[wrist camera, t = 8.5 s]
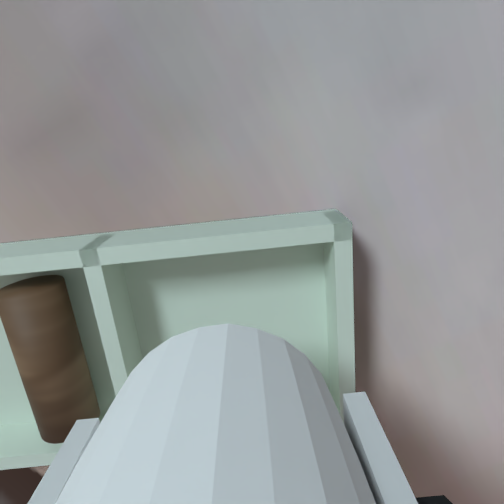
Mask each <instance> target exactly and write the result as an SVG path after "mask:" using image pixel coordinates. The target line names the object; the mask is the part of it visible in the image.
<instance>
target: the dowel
mask: <svg viewBox="0 0 504 504" xmlns="http://www.w3.org/2000/svg"><path fill="white" fill-rule="evenodd" d="M0 318H1V321H2V324H3V327H4V330H5V333H6V335H7V338H8V341H9V344H10V347H11V350H12V353H13V356H14V359H15V362H16V365H17V368H18V371H19V374H20V377H21V380H22V383H23V386H24V389H25V392H26V394H27V397H28V400H29V403H30V406H31V409H32V412H33V415H34V418H35V421H36V424H37V427H38V430H39V433H40V436H41V438H42V440H43V441H45V442H47V443H51V444H58V443H64V441H65V439H66V438H67V436H68V434H69V432H70V431H71V429H72V427H73V426H74V424H75V422H76V421H77V420H81V419H91V418H99V417H100V408H99V404H98V401H97V397H96V393H95V390H94V386H93V382H92V379H91V375H90V371H89V368H88V364H87V360H86V357H85V353H84V349H83V346H82V342H81V338H80V335H79V331H78V327H77V324H76V320H75V316H74V312H73V309H72V305H71V301H70V298H69V294H68V290H67V287H66V283H65V279H64V277H63V276H60V275H43V276H37V277H32V278H28V279H24V280H20V281H17V282H15V283H12V284H9V285H7V286H5V287H3V288H1V289H0Z"/></svg>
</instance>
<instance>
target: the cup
mask: <svg viewBox="0 0 504 504" xmlns="http://www.w3.org/2000/svg"><path fill="white" fill-rule="evenodd" d="M55 504H376V502H375V500H374V497H373V494H372V492H371V489H370V487H369V484H368V482H367V479H366V476H365V474H364V471H363V469H362V466H361V464H360V461H359V459H358V456H357V454H356V451H355V449H354V447H353V444H352V442H351V440H350V437H349V435H348V433H347V430H346V428H345V426H344V423H343V421H342V418H341V416H340V414H339V411H338V409H337V407H336V404H335V402H334V400H333V398H332V395H331V393H330V391H329V389H328V387H327V385H326V383H325V380H324V378H323V376H322V374H321V373H320V372H319V370H318V369H317V368H316V367H315V366H314V365H313V363H312V362H311V361H310V360H309V359H308V357H307V356H306V355H305V354H304V353H302V352H301V351H299V350H298V349H297V348H295V347H294V346H293V345H291V344H290V343H289V342H287V341H286V340H285V339H283V338H280V337H278V336H275V335H273V334H270V333H267V332H265V331H262V330H260V329H257V328H252V327H246V326H240V325H235V324H229V323H227V324H220V325H212V326H205V327H198V328H196V329H193V330H190V331H187V332H184V333H181V334H178V335H176V336H173V337H171V338H169V339H168V340H166V341H165V342H163V343H162V344H160V345H159V346H158V347H156V348H155V349H153V350H152V351H150V352H149V353H148V354H147V355H146V356H145V357H144V358H143V359H142V361H141V362H140V363H139V364H138V365H137V366H136V367H135V368H134V369H133V370H132V372H131V373H130V375H129V376H128V378H127V380H126V381H125V383H124V384H123V386H122V388H121V389H120V391H119V392H118V394H117V396H116V397H115V399H114V400H113V402H112V404H111V406H110V407H109V409H108V411H107V412H106V414H105V416H104V418H103V419H102V421H101V423H100V425H99V426H98V428H97V430H96V431H95V433H94V435H93V437H92V438H91V440H90V442H89V443H88V445H87V447H86V449H85V450H84V452H83V454H82V455H81V457H80V459H79V461H78V463H77V465H76V466H75V468H74V470H73V472H72V474H71V476H70V477H69V479H68V481H67V483H66V485H65V487H64V488H63V490H62V492H61V494H60V496H59V498H58V499H57V501H56V503H55Z"/></svg>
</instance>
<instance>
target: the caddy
mask: <svg viewBox="0 0 504 504" xmlns="http://www.w3.org/2000/svg"><path fill="white" fill-rule="evenodd" d="M43 275H60V276H63V277H64V279H65V283H66V287H67V290H68V294H69V298H70V301H71V305H72V309H73V312H74V316H75V320H76V324H77V327H78V331H79V335H80V338H81V342H82V346H83V349H84V353H85V357H86V360H87V364H88V368H89V371H90V375H91V379H92V382H93V386H94V390H95V393H96V397H97V401H98V404H99V408H100V417H99V420H100V423H101V421H102V419H103V418H104V416H105V414H106V412H107V411H108V409H109V407H110V406H111V404H112V402H113V400H114V399H115V397H116V396H117V394H118V392H119V391H120V389H121V388H122V386H123V384H124V383H125V381H126V380H127V378H128V376H129V375H130V373H131V372H132V370H133V369H134V368H135V367H136V366H137V365H138V364H139V363H140V362H141V361H142V359H143V358H144V357H145V356H146V355H147V354H148V353H149V352H150V351H152V350H153V349H155V348H156V347H158V346H159V345H160V344H162V343H163V342H165V341H166V340H168V339H169V338H171V337H173V336H176V335H178V334H181V333H184V332H187V331H190V330H193V329H196V328H198V327H205V326H212V325H220V324H227V323H229V324H235V325H240V326H246V327H252V328H257V329H260V330H262V331H265V332H267V333H270V334H273V335H275V336H278V337H280V338H283V339H285V340H286V341H287V342H289V343H290V344H291V345H293V346H294V347H295V348H297V349H298V350H299V351H301V352H302V353H304V354H305V355H306V356H307V357H308V359H309V360H310V361H311V362H312V363H313V365H314V366H315V367H316V368H317V369H318V370H319V372H320V373H321V374H322V376H323V378H324V380H325V383H326V385H327V387H328V389H329V391H330V393H331V395H332V398H333V400H334V402H335V404H336V407H337V409H338V411H339V414H340V416H341V418H342V421H343V423H344V415H343V394H345V393H355V349H354V298H353V247H352V222H351V221H350V220H349V219H348V218H346V217H345V216H344V215H343V214H341V213H340V212H339V211H338V210H336V209H331V210H321V211H311V212H302V213H292V214H282V215H272V216H263V217H253V218H243V219H234V220H224V221H214V222H205V223H195V224H185V225H175V226H166V227H156V228H146V229H137V230H127V231H117V232H108V233H98V234H88V235H79V236H69V237H59V238H49V239H40V240H30V241H20V242H11V243H1V244H0V289H1V288H3V287H5V286H7V285H9V284H12V283H15V282H17V281H20V280H24V279H28V278H32V277H37V276H43ZM62 444H63V443H58V444H51V443H47V442H45V441H43V440H42V438H41V436H40V433H39V430H38V427H37V424H36V421H35V418H34V415H33V412H32V409H31V406H30V403H29V400H28V397H27V394H26V392H25V389H24V386H23V383H22V380H21V377H20V374H19V371H18V368H17V365H16V362H15V359H14V356H13V353H12V350H11V347H10V344H9V341H8V338H7V335H6V333H5V330H4V327H3V324H2V321H1V318H0V470H5V469H15V468H26V467H36V466H46V465H51V463H52V461H53V460H54V458H55V456H56V454H57V453H58V451H59V449H60V448H61V446H62Z"/></svg>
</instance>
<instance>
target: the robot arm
mask: <svg viewBox="0 0 504 504" xmlns="http://www.w3.org/2000/svg"><path fill="white" fill-rule="evenodd" d="M343 415H344V426H345V428H346V430H347V433H348V435H349V437H350V440H351V442H352V444H353V447H354V449H355V451H356V454H357V456H358V459H359V461H360V464H361V466H362V469H363V471H364V474H365V476H366V479H367V482H368V484H369V487H370V489H371V492H372V494H373V497H374V500H375V502H376V504H452V503H451V502H450V501H449V500H448V499H447V498H446V497H445V496H444V495H441V496H431V497H420V498H415V496H414V494H413V492H412V490H411V487H410V485H409V483H408V481H407V479H406V477H405V475H404V473H403V471H402V468H401V466H400V464H399V462H398V460H397V458H396V456H395V454H394V452H393V450H392V447H391V445H390V443H389V441H388V439H387V437H386V435H385V433H384V431H383V428H382V426H381V424H380V422H379V420H378V418H377V416H376V414H375V412H374V409H373V407H372V405H371V403H370V401H369V399H368V397H367V395H366V393H365V392H356V393H345V394H343ZM99 425H100V420H99V418H91V419H81V420H77V421H76V422H75V424H74V426H73V427H72V429H71V431H70V432H69V434H68V436H67V438H66V439H65V441H64V443H63V444H62V446H61V448H60V449H59V451H58V453H57V454H56V456H55V458H54V460H53V461H52V463H51V465H50V466H49V468H48V470H47V471H46V473H45V475H44V477H43V478H42V480H41V482H40V483H39V485H38V487H37V488H36V490H35V492H34V494H33V495H32V497H31V499H30V501H29V502H28V504H55V503H56V501H57V499H58V498H59V496H60V494H61V492H62V490H63V488H64V487H65V485H66V483H67V481H68V479H69V477H70V476H71V474H72V472H73V470H74V468H75V466H76V465H77V463H78V461H79V459H80V457H81V455H82V454H83V452H84V450H85V449H86V447H87V445H88V443H89V442H90V440H91V438H92V437H93V435H94V433H95V431H96V430H97V428H98V426H99Z"/></svg>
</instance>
